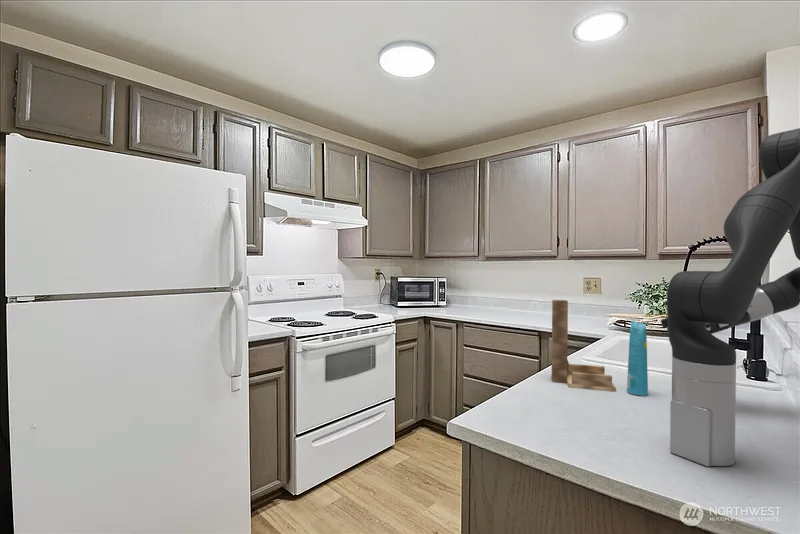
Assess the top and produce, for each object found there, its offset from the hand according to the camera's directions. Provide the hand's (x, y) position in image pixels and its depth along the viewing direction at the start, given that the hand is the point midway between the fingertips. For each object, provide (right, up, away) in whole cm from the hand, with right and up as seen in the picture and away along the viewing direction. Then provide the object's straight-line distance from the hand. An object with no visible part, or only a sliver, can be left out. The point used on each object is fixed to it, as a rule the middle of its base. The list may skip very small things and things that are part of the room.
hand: (668, 329), depth 100 cm
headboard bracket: (-14, -18, +17) cm, 29 cm away
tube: (-3, -19, +8) cm, 20 cm away
